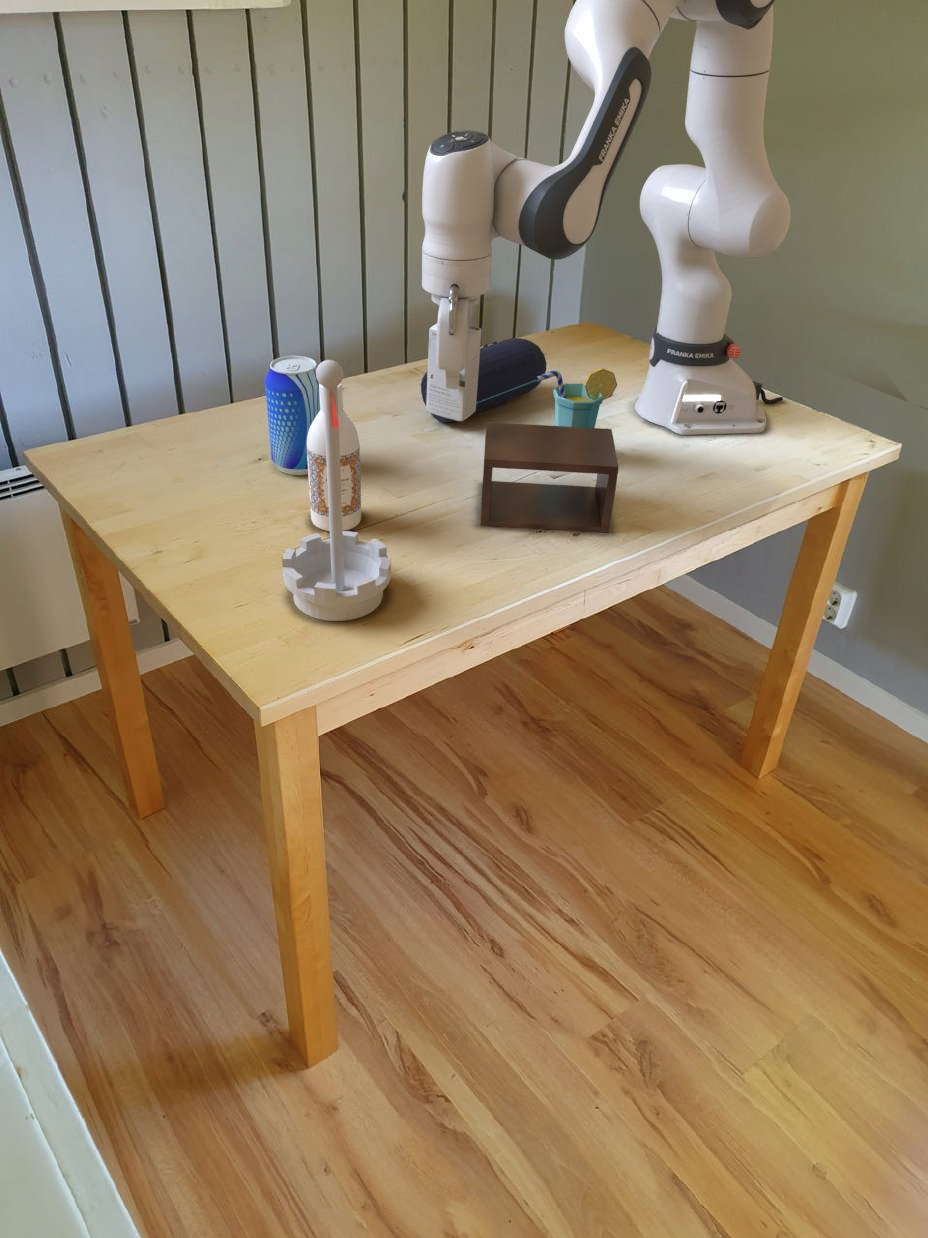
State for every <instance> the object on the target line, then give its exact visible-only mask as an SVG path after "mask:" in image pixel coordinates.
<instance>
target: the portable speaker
mask: <svg viewBox="0 0 928 1238" xmlns="http://www.w3.org/2000/svg"><path fill="white" fill-rule="evenodd" d="M545 373H547V360H546V356H545V354H544V353H543V350H542V349H541V347H540V346H539V345H538V344H536V343H534V342H533V341H531V340H530V339H526V338H520V337H511V338H507V339H504V340H501V341H493V342H492V344H483V346H482V347H480V358H479V371H478V385H477V398H476V411H475V412H474V413H473V414H472V415H471V416H473V415H476V414H478V413H481V412H484V411H486V410H488V409H491V408H494V407H496V406H499V405H502V404H504V403H506V402H509V401H511V400H514V399H517V398H519V397H523V396H524V395H527V394H528V393H530V392H532V391H533V390H535V389H536V388H537V387H539V386H540V385H541V383H542V381H540V382H538V381H537V380H536V377H537V376H540V375H542V374H545ZM427 376H428V369H427V370H426V371H425V373H424V375H423V376H422V379H421V382H420V393H421V398H422V402H423V403H424V405H425V407H426V402H427ZM430 415H431V416H432V417H433V418H434V419H435V420H437V421H439V422H443V423H451V422H456V421H457V420H453V419H449V418H445V417H442V416H438V415H435V414H431V413H430ZM457 422H458V421H457Z"/></svg>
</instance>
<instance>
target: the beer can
mask: <svg viewBox="0 0 928 1238" xmlns="http://www.w3.org/2000/svg"><path fill="white" fill-rule="evenodd" d="M269 367H270V368H269V370H268V372H267V374H266V376H265V378H264V386H265V397H266V399H265V400H266V410H267V419H268V420H267V421H268V433H269V434H268V435H269V444H270V457H271V461H272V463H273V464H274V465H275V466H276V467H277V469H278V470H279V471H280V472H281V473H284V474H286V475H290V476H308V461H307V436H308V432H309V428H310V426H311V424H312V422H313V421H314V419H315V417H316V416H317V414H318V413H319V411H320V394H319V384H320V383H319V382H318V380H317V378H316V369H317V367H318V364H317V361H316V360H314V358H311V357H308V356H304V355H303V356H302V355H285V356H281V357H277V358H275V359H273V360H272V361H271V362H270V363H269Z"/></svg>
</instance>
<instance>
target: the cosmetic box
mask: <svg viewBox="0 0 928 1238" xmlns="http://www.w3.org/2000/svg"><path fill="white" fill-rule="evenodd" d="M482 331H483V329H482V328H481V327H477V326H474V325H471V324H470V325H469V330H468V348H467V356H466V364H465V368H464V370H462V371H460V380H459V388H458V389H448V388H446V375H445V370H440V369H438V367H437V323H435V324H434V325H432V326H430V327H429V330H428V352H427V354H428V355H427V370H428V376H427V402H426V406H425V411H426V413H429V414H430V415H431V414H435V415H438V416H442V417H445V418H449V419H453V420H457V422H464V421H465V420H467V419H468V418H470V417H471V416H473V415H474V414H473V413H474V412H475V411H476V398H477V385H478V371H479V358H480V348H481V342H482ZM449 335H450V334H449ZM453 335H454V334H453ZM451 336H452V335H451ZM472 414H473V415H472Z"/></svg>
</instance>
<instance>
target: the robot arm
mask: <svg viewBox="0 0 928 1238" xmlns="http://www.w3.org/2000/svg"><path fill="white" fill-rule="evenodd" d="M775 1H776V0H575V2H574V4H573V5H572V8H571V10H570V12H569V15H568V17H567V21H566V24H565V27H564V44H565V45H564V46H565V51H566V54H567V57H568V59H569V62H570V64H571V66H572V67H573V69H574V70H575V72H576V73H577V74H578V76H579V77H580V79H582V81H583V82H584V83H585V84H586V85H587V86H588V87H589V88H590V89H591V90H592V91H593V92H594V100H593V103H592V106H591V108H590V110H589V113H588V115H587V117H586V119H585V122H584V124H583V127H582V128H581V131H580V132H579V135H578V137H577V139H576V142H575V144H574V146H573V149H572V151H571V153H570V155H569V157H568V158H567V159H566V160H565V161H563V162H562V163H560V164H557V165H554V166H551V165H548V164H544V163H540V162H538V161H537V162H536V161H533V160H531V159H528V158H525V157H521V156H518V155H515V154H513V153H511V152H508V151H507V150H505V149H503V148H501V147H499V146H498V145H496V144H495V142H493V141H492V140H491V137H490V136H489V135H488V134H486V133H484V132H481V131H478V130H460V131H458V130H456V131H451V132H448V133H445V134H442V135H440V136H438V137H437V138H436V139H435V140H433V141H432V142H431V144H430V145H429V147H428V150H427V153H426V156H425V162H424V167H423V177H422V190H421V191H422V194H421V195H422V197H421V206H422V207H421V214H422V218H423V223H424V238H423V241H422V245H421V287H422V289H423V290H424V291H425V292H427V293H429V294H431V301H432V302H433V304H435V305H437V306H438V313H437V320H436V321H437V323H436V324H437V367H438V369H440V370H445V375H446V388H448V389H458V388H459V380H460V371H462V370H464V368H465V364H466V356H467V348H468V330H469V325H470V326H471V321H472V317H473V316H472V315H473V310H474V306H476V305H478V304H479V303H481V296H482V295H484V294H487V293H488V292H489V291H490V289H491V276H492V275H491V274H492V254H493V247H492V241H493V240H494V239H495V238H500V237H501V238H503V239H505V240H507V241H509V242H513V243H516V244H518V245H521V246H523V247H526V248H528V249H529V250H531V251H533V252H535V253H536V254H539V255H541V256H543V257H546V259H548V260H554V261H555V260H556V261H558V260H564V259H566V258H570V256H573V255H574V254H575V253H577V252H578V251H579V250H581V249H582V248H583V247H584V246H585V245H586V244H587V243H588V241H590V239H591V237H592V235H593V234H594V232H595V229H596V227H597V224H598V221H599V219H600V218H599V217H600V213H601V211H602V206H603V204H604V203H603V202H604V200H605V196H606V193H607V190H608V189H609V186H610V184H611V182H612V179H613V178H614V175H615V172H616V170H617V168H618V166H619V163H620V161H621V159H622V156H623V154H624V153H625V150H626V147H627V146H628V143H629V141H630V138H631V137H632V135H633V132H634V129H635V127H636V126H637V123H638V121H639V118H640V116H641V113H642V111H643V109H644V107H645V103H646V101H647V98H648V94H649V92H650V87H651V82H652V67H651V63H650V61H649V59H650V57H651V53H652V51H653V49H654V47H655V44H656V43H657V41H658V39H659V38H660V36H661V35H662V33H663V31H664V30H665V27H666V25H667V23H668V22H669V19H670V18H672V19H675V20H679V21H680V20H681V21H684V22H685V21H686V22H695V25H696V28H695V34H694V38H693V43H692V50H691V51H692V52H691V58H690V66H689V67H690V68H689V77H688V87H687V96H686V106H685V117H684V126H685V131H686V134H687V136H688V138H689V139H690V141H692V142H693V144H694V145H695V146H696V147H697V149H698V150H699V152H700V154H701V157H702V159H703V162H704V166H705V167H703V166H699V165H694V164H690V163H687V164H686V163H683V164H682V163H678V164H665V165H661V166H658V167H657V168H656V169H654V170H653V171H652V172H651V174H650V175H649V176H648V177H647V179H646V180H645V182H644V184H643V186H642V189H641V192H640V195H639V196H640V197H639V213H640V215H641V219H642V221H643V223H644V224H645V225H646V226H647V228H648V230H649V231H650V233H651V235H652V237H653V241H654V243H655V246H656V249H657V252H658V256H659V262H660V269H661V281H662V283H661V295H660V305H659V312H658V318H657V326H656V327H655V328H654V329H653V332H652V333H653V334H652V337H651V342H650V346H649V355H648V359H649V362H648V363H649V366H648V370H647V372H646V377H645V378H644V379H645V380H644V382H643V385H642V389H641V391H640V393H639V396H638V398H637V400H636V402H635V404H634V411H635V412H636V413H637V414H638V415H639V416H640V417H641V418H642V419H644V420H645V421H648V422H650V423H653V424H655V425H658V426H661V427H664V428H667V429H669V431H671V432H674V433H676V434H678V435H682V436H687V435H689V436H690V435H692V436H693V435H723V434H725V435H727V434H729V435H730V434H758V433H762V432H763V431H765V430H766V429H765V428H766V426H767V415H766V413H765V411H764V409H763V408H762V406H761V405H760V404H759V403H757V401H759V400H760V398H761V401H762V402H763V403H764V404H767V405H773V404H776V403H779V402H783V401H784V397H783V396H778V397H776V398H773V399H768V398H767V395H766V391H765V390H764V389H763V388H762V387H763V383H760V382H757V381H755V380H752V377H750V375H749V374H748V373H747V372H746V371H745V370H744V369H742V367H740V365H738V363H736V362H735V361H734V360H737V359H738V358H739V357H741V355H742V352H741V349H740V347H739V345H738V344H736V343H735V341H734V340H733V339H732V338H731V337H730V336H729V335H728V334H727V333H726V332H725V331H726V326H727V321H728V316H729V313H730V307H731V302H732V298H733V297H732V296H733V294H732V293H733V292H732V286H731V284H730V281H729V279H728V278H727V277H726V276H725V274H724V273H723V272H722V270H721V269H720V266H719V264H718V262H717V257H716V253H719V254H723V255H726V256H729V257H732V258H740V259H741V258H743V259H763V258H765V257H767V256H770V255H771V254H772V253H774V252H775V251H776V249H778V248H779V247H780V245H782V242H783V241H784V240H785V238H786V236H787V234H788V231H789V228H790V224H791V219H792V217H791V216H792V215H791V213H792V212H791V205H790V202H789V198H788V197H787V195H786V194H785V193H784V191H783V190H782V189H781V187H780V186H779V184H778V183H777V181H776V179H775V177H774V175H773V172H772V169H771V166H770V164H769V159H768V156H767V152H766V146H765V139H764V138H765V137H764V121H765V120H764V119H765V109H766V99H767V92H768V91H767V90H768V84H769V83H768V82H769V75H770V68H771V63H772V52H773V41H774V3H775ZM715 252H716V253H715ZM449 334H450V335H449ZM453 334H454V335H453ZM451 335H452V336H451Z"/></svg>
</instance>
